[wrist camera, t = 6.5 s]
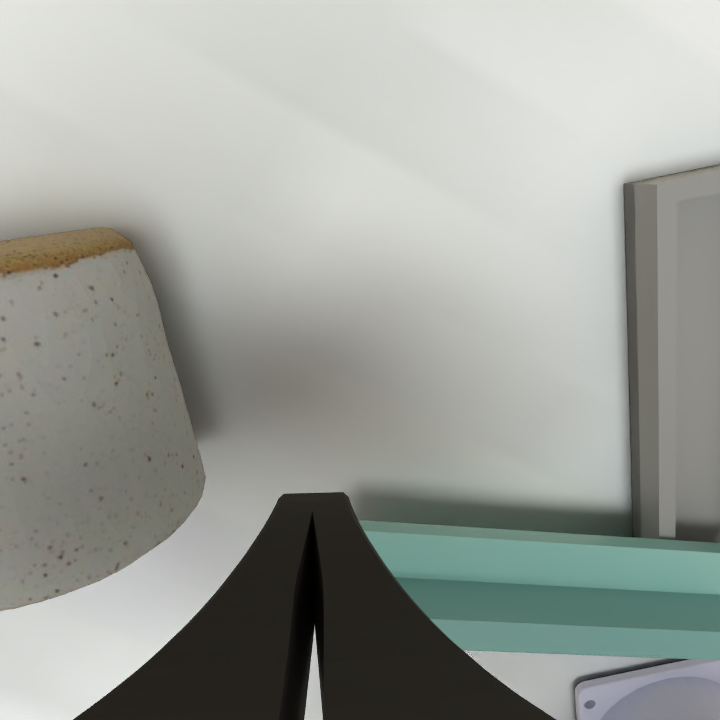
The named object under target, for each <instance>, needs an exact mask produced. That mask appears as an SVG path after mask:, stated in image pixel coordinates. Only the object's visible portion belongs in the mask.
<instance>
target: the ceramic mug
mask: <svg viewBox="0 0 720 720" xmlns="http://www.w3.org/2000/svg"><path fill="white" fill-rule="evenodd" d="M205 478H206V477H205V472H204V468H203V464H202V460H201V456H200V453H199V449H198V446H197V442H196V439H195V435H194V432H193V428H192V425H191V421H190V418H189V414H188V411H187V407H186V404H185V400H184V396H183V392H182V389H181V385H180V382H179V379H178V376H177V372H176V369H175V366H174V363H173V359H172V356H171V353H170V350H169V347H168V343H167V339H166V335H165V331H164V327H163V323H162V319H161V315H160V311H159V306H158V303H157V299H156V296H155V293H154V290H153V287H152V284H151V282H150V279H149V277H148V275H147V273H146V271H145V269H144V267H143V265H142V263H141V261H140V259H139V257H138V255H137V253H136V251H135V249H134V247H133V245H132V244H131V242H130V241H129V240H128V239H126V238H124V237H123V236H121V235H120V234H118V233H117V232H115V231H113V230H112V229H110V228H92V229H84V230H77V231H70V232H63V233H56V234H49V235H42V236H34V237H27V238H20V239H13V240H6V241H0V611H3V610H8V609H15V608H19V607H22V606H26V605H29V604H33V603H38V602H42V601H45V600H48V599H51V598H54V597H57V596H60V595H64V594H66V593H69V592H72V591H74V590H77V589H79V588H82V587H85V586H87V585H90V584H92V583H95V582H98V581H100V580H102V579H104V578H106V577H108V576H110V575H112V574H113V573H116V572H118V571H119V570H121V569H123V568H125V567H126V566H128V565H130V564H131V563H133V562H134V561H136V560H137V559H138V558H140V557H141V556H143V555H144V554H146V553H147V552H149V551H150V550H152V549H153V548H155V547H156V546H157V545H159V544H160V543H162V542H163V541H164V540H166V539H167V538H168V537H170V536H171V535H172V534H173V533H174V532H175V531H176V530H177V529H178V528H179V527H180V526H181V525H182V524H183V523H184V522H185V520H186V519H187V518H188V516H189V515H190V514H191V512H192V511H193V510H194V509H195V507H196V506H197V504H198V502H199V500H200V498H201V497H202V493H203V490H204V484H205Z"/></svg>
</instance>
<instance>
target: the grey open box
mask: <svg viewBox="0 0 720 720" xmlns="http://www.w3.org/2000/svg"><path fill="white" fill-rule="evenodd" d="M624 201H625V239H626V277H627V316H628V354H629V392H630V430H631V468H632V506H633V538H649V539H664V540H680V541H695V542H711V543H720V164H719V165H714V166H709V167H705V168H700V169H695V170H690V171H685V172H680V173H675V174H670V175H665V176H660V177H656V178H651V179H646V180H641V181H636V182H631V183H626V184H624Z"/></svg>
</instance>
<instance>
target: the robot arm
mask: <svg viewBox="0 0 720 720" xmlns="http://www.w3.org/2000/svg"><path fill="white" fill-rule="evenodd" d="M314 625H315V631H316V643H317V655H318V666H319V677H320V689H321V700H322V712H323V720H556V719H554V718H553V717H551V716H550V715H548V714H547V713H545V712H544V711H542V710H541V709H539V708H537V707H536V706H534V705H533V704H531V703H530V702H528V701H527V700H525V699H524V698H522V697H521V696H519V695H518V694H516V693H515V692H514V691H512V690H511V689H510V688H508V687H507V686H506V685H504V684H503V683H502V682H500V681H499V680H498V679H496V678H495V677H494V676H493V675H491V674H490V673H489V672H487V671H486V670H485V669H484V668H482V667H481V666H480V665H479V664H478V663H477V662H476V661H474V660H473V659H472V658H471V657H470V656H469V655H468V654H466V653H465V652H464V651H463V650H462V649H461V648H460V647H458V646H457V645H456V644H455V643H454V642H453V641H452V640H450V639H449V638H448V637H447V636H446V635H445V634H444V633H443V632H442V631H441V630H440V629H439V628H438V627H437V626H436V625H435V624H434V623H433V622H432V621H431V620H430V619H429V617H428V616H427V615H426V614H425V613H424V612H423V611H422V610H421V609H420V608H419V606H418V605H417V604H416V603H415V602H414V601H413V600H412V598H411V597H410V596H409V595H408V594H407V592H406V591H405V590H404V589H403V587H402V586H401V585H400V584H399V582H398V581H397V580H396V578H395V577H394V576H393V574H392V573H391V572H390V570H389V569H388V568H387V566H386V565H385V563H384V562H383V560H382V559H381V558H380V556H379V554H378V553H377V551H376V550H375V548H374V547H373V545H372V543H371V542H370V540H369V539H368V537H367V535H366V534H365V532H364V530H363V528H362V526H361V525H360V523H359V521H358V519H357V517H356V515H355V513H354V511H353V508H352V506H351V503H350V500H349V497H348V496H347V495H346V494H345V493H344V492H335V493H298V494H283V495H282V496H281V497H280V498H279V499H278V501H277V503H276V506H275V507H274V509H273V511H272V513H271V515H270V517H269V519H268V520H267V522H266V524H265V525H264V527H263V529H262V530H261V532H260V533H259V535H258V536H257V538H256V539H255V541H254V542H253V544H252V545H251V547H250V548H249V550H248V551H247V553H246V554H245V556H244V557H243V558H242V560H241V561H240V562H239V564H238V565H237V566H236V568H235V569H234V570H233V571H232V573H231V574H230V575H229V577H228V578H227V579H226V580H225V582H224V583H223V584H222V586H221V587H220V588H219V589H218V590H217V592H216V593H215V594H214V595H213V596H212V597H211V599H210V600H209V601H208V602H207V603H206V604H205V605H204V607H203V608H202V609H201V610H200V611H199V612H198V613H197V614H196V615H195V616H194V617H193V618H192V619H191V620H190V621H189V623H188V624H187V625H186V626H185V627H184V628H183V629H182V630H181V631H180V632H178V633H177V634H176V635H175V636H174V637H173V638H172V639H171V640H170V641H169V642H168V643H167V644H166V645H165V646H164V647H163V648H162V649H161V650H160V651H159V652H158V653H156V654H155V655H154V656H153V657H152V658H151V659H150V660H149V661H148V662H146V663H145V664H144V665H143V666H142V667H141V668H139V669H138V670H137V671H136V672H135V673H133V674H132V675H131V676H130V677H128V678H127V679H126V680H125V681H123V682H122V683H121V684H120V685H118V686H117V687H116V688H115V689H113V690H112V691H111V692H110V693H108V694H107V695H106V696H104V697H103V698H102V699H100V700H99V701H98V702H97V703H95V704H94V705H93V706H91V707H90V708H88V709H87V710H86V711H84V712H83V713H82V714H80V715H79V716H77V717H76V718H75V719H73V720H304V715H305V707H306V698H307V689H308V680H309V671H310V662H311V653H312V644H313V634H314ZM575 702H576V714H577V720H720V660H701V659H688V660H684V661H679V662H674V663H669V664H664V665H660V666H655V667H650V668H645V669H640V670H635V671H631V672H626V673H621V674H616V675H611V676H607V677H602V678H597V679H592V680H587V681H583V682H581V683H579V684H578V685H577V687H576V688H575Z"/></svg>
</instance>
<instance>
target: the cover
mask: <svg viewBox="0 0 720 720" xmlns="http://www.w3.org/2000/svg"><path fill="white" fill-rule="evenodd" d="M359 523H360V525H361V526H362V528H363V530H364V532H365V534H366V535H367V537H368V539H369V540H370V542H371V543H372V545H373V547H374V548H375V550H376V551H377V553H378V554H379V556H380V558H381V559H382V560H383V562H384V563H385V565H386V566H387V568H388V569H389V570H390V572H391V573H392V574H393V576H394V577H395V578H396V580H397V581H398V582H399V584H400V585H401V586H402V587H403V589H404V590H405V591H406V592H407V594H408V595H409V596H410V597H411V598H412V600H413V601H414V602H415V603H416V604H417V605H418V606H419V608H420V609H421V610H422V611H423V612H424V613H425V614H426V615H427V616H428V617H429V619H430V620H431V621H432V622H433V623H434V624H435V625H436V626H437V627H438V628H439V629H440V630H441V631H442V632H443V633H444V634H445V635H446V636H447V637H448V638H449V639H450V640H452V641H453V642H454V643H455V644H456V645H457V646H458V647H460V648H461V649H462V650H473V651H498V652H524V653H549V654H575V655H600V656H625V657H651V658H676V659H701V660H720V543H711V542H695V541H680V540H664V539H649V538H633V537H617V536H602V535H586V534H571V533H555V532H540V531H524V530H509V529H493V528H478V527H462V526H447V525H431V524H416V523H400V522H385V521H369V520H359Z"/></svg>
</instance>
